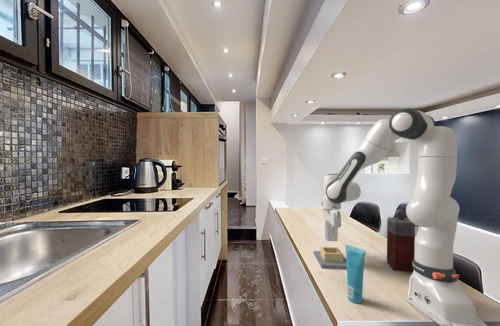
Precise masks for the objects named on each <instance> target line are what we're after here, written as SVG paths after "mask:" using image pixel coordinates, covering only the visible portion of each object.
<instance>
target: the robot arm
mask: <svg viewBox="0 0 500 326" xmlns="http://www.w3.org/2000/svg"><path fill="white" fill-rule="evenodd" d="M456 135H457V134H456V132H455V130H453V128H450V127H448V126H443V125H441V126H440V125H438V126H437V124H436V121H435V120H434V118H433V116H431V115H429V114H426V112H424V111H421V110H417V109H414V108H402V109H398V110H397V111H395V112H394V113H393V114H392V115H391V116H390V118H380V119H378V120H377V121H376V122H375V123H374V125H372V127H371V128H370V129H369V131H368V132H367V134H366V135H365V137H364V139H362V141H361V142H360V143H361V144H360V145H359V147H358V148H357V149H356V151H355V152H354V153H352V155H351V156H350V158H348V160H347V162H346V163H345V164H344V166H343V167H342V169H341V170H340V171H339V173H329V174H326V175H324V178H323V186H322V187H323V188H322V189H323V191H322V192H323V197H322V201H321V207H322V216H323V219H324V220H325V219H327V220H328V221H329V223H330V224H331V227H332V229H331V233H332V234H335V230H336V228H338V229H340V228H341V227H342V214H341V212H340V210H341V209H342V203H346V202H353V201H356V200H358V199H359V198H360V196H361V193H362V191H361V187H360V185H359V184H358V183H357V182H356V181H353V180H354V179H355V178H356V176H357V175H358V174H359V172H361V171H362V170H364V169H365V168H368V167H369V166H372V165H375V164H378V163H380V162H381V161H382V160H383V159H384V158H385V157H386V156H387V155H388V154H389V152H390V150H391V149H392V146H393V145H394V143H396V141H397V140H399V139H402V138H403V139H407V140H414V141H416V143H417V144H418V145H417V146H418V154H417V168H416V169H417V170H416V176H415V177H416V178H415V183H414V186H413V189H412V192H411V197H410V198H409V199H410V200H409V201H408V203H407V205H406V207H405V212H406V217H407V219H408V220H410V221H411V222H412V223H414V224H415V226H418V228H417V232H416V233H415V246H414V258H413V269H414V271H413V272H412V274H411V275H410V277H409V282H408V291H407V294H406V295H405V296H404V300H405V301H406V302H407V303H409V304H410V305H412V306H413V307H414V308H416V309H417V310H419V311H420V312H421V313H422V314H424V315H425V316H426V317H428V318H429V319H431V320H432V321H433V322H434V323H436V324H437V325H439V326H488V325H487V324H486V323H485V321H483V320H482V319H480V317H479V316H478V315H477V309H476V305H475V303H474V300H473V297H471V295H468V294H467V292H466V291H465V289H464V288H463V287H462V285H461V284H460V283H459V282H458V280H459V279H460V274H457V272H456V269H455V267H454V243H455V237H456V231H457V226H458V219H459V213H460V205H459V203H458V202H457V200H456V199H454V198H453V197H451V194H452V191H453V187H454V185H455V182H456V180H457V166H458V165H457V163H458V141H457V136H456Z"/></svg>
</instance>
